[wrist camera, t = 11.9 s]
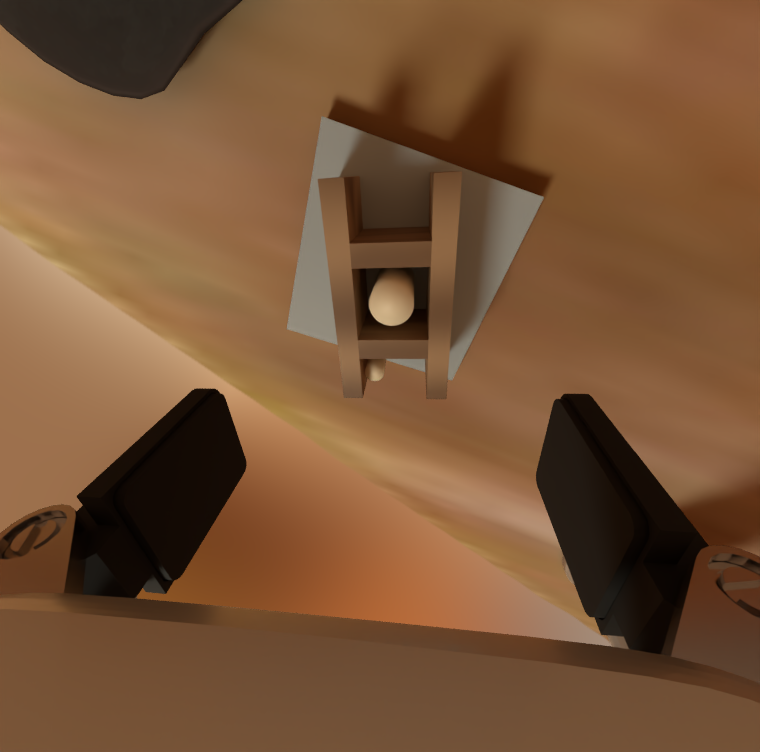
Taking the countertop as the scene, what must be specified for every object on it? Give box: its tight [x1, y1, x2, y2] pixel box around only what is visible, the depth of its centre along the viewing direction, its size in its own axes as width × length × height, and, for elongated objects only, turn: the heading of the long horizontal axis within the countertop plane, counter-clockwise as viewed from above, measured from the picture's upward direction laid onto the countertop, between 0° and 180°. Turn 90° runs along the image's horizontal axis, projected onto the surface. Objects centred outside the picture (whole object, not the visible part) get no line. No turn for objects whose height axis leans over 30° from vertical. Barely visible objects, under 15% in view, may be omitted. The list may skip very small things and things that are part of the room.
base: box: [287, 117, 544, 381], centre depth 20 cm, size 13×13×6 cm
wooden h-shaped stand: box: [318, 171, 462, 399], centre depth 20 cm, size 12×6×5 cm, turn 3°
